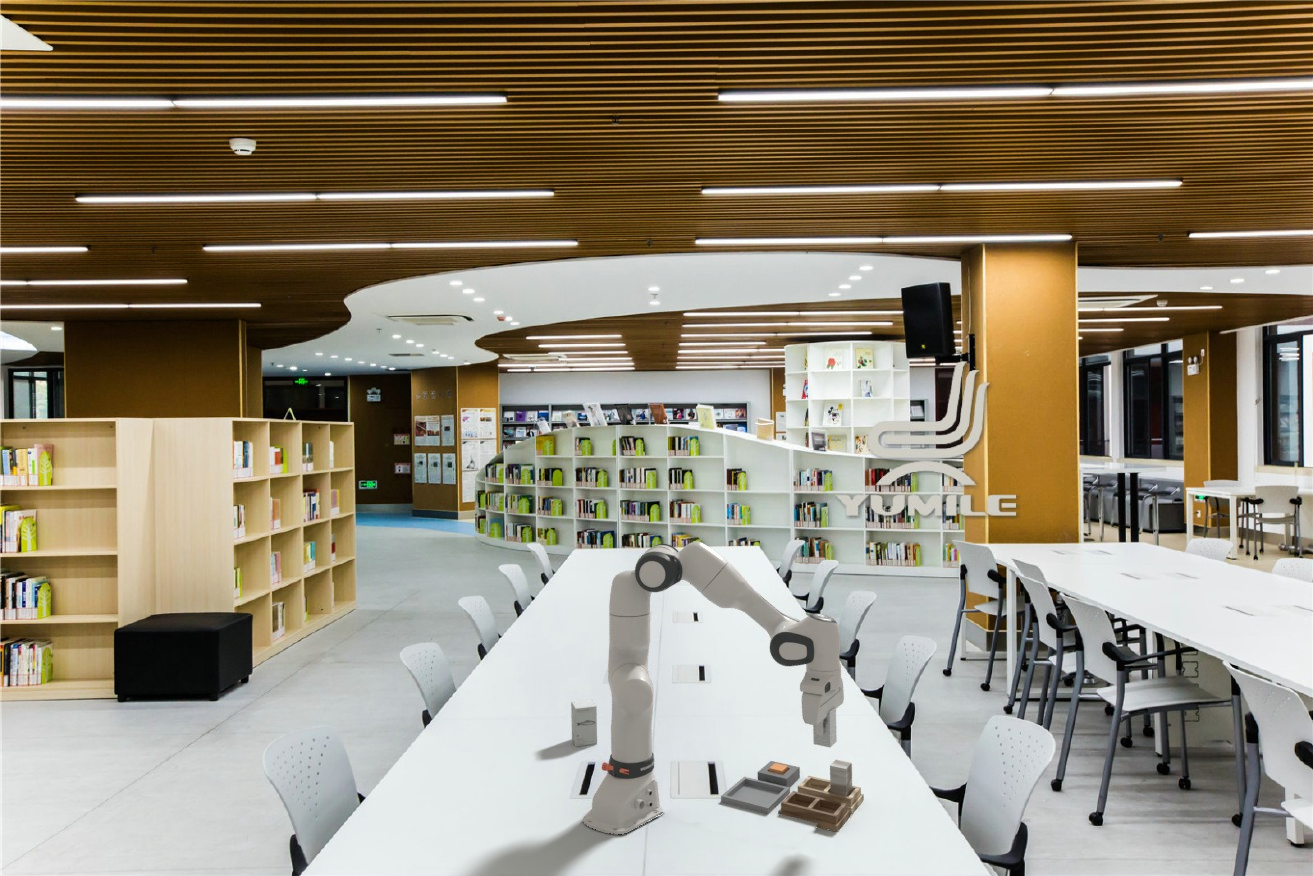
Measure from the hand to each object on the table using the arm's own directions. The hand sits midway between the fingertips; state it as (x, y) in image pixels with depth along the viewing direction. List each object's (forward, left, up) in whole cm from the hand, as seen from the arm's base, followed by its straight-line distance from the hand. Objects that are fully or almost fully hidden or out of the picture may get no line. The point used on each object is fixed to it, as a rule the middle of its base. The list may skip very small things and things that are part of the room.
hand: (824, 731), depth 208 cm
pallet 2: (0, +3, -23) cm, 23 cm away
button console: (+14, +19, -23) cm, 33 cm away
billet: (0, 0, -3) cm, 3 cm away
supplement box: (+11, +87, -23) cm, 91 cm away
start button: (+14, +19, -21) cm, 32 cm away
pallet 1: (+11, +3, -23) cm, 26 cm away
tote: (+1, +20, -23) cm, 31 cm away
